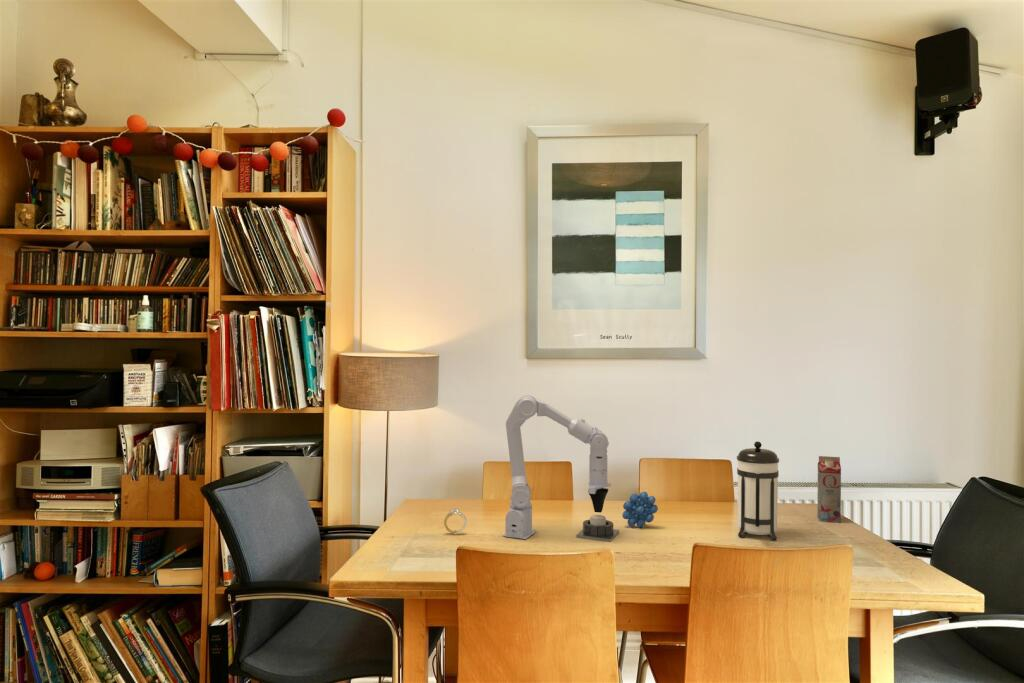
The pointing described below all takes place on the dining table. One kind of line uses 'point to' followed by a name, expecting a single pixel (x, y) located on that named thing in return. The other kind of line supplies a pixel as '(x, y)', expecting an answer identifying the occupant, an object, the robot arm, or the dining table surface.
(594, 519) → the cap
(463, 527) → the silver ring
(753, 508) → the coffee press
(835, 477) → the juice carton
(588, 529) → the flanged pipe fitting
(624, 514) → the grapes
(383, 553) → the dining table surface
